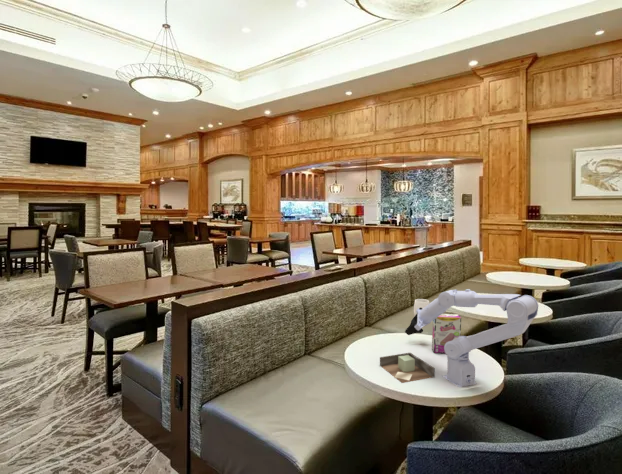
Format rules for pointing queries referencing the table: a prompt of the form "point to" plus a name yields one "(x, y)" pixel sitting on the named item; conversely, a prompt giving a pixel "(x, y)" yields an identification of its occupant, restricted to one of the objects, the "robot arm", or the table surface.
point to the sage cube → (406, 363)
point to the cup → (420, 304)
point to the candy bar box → (445, 331)
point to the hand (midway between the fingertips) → (409, 327)
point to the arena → (420, 371)
